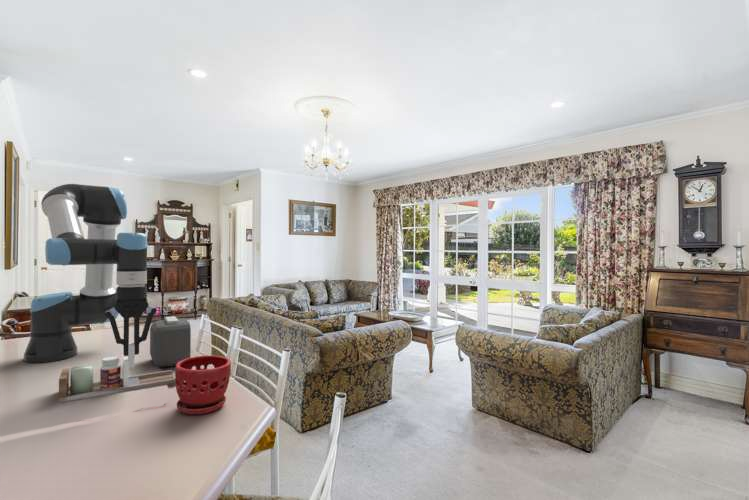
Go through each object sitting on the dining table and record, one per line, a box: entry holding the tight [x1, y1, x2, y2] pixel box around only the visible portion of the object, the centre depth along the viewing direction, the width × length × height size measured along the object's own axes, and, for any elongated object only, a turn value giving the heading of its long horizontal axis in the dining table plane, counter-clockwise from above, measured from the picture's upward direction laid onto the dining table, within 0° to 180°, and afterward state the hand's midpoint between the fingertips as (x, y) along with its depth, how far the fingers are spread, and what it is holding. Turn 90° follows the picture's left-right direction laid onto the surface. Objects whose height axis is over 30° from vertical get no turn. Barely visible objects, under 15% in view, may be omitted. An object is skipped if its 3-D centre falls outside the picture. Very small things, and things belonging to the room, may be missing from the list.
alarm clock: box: [149, 315, 192, 368], centre depth 136 cm, size 16×11×16 cm
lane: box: [58, 367, 176, 404], centre depth 110 cm, size 10×27×7 cm, turn 125°
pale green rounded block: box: [69, 364, 94, 395], centre depth 104 cm, size 5×5×7 cm
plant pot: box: [174, 355, 232, 415], centre depth 98 cm, size 13×13×12 cm
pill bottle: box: [99, 356, 122, 390], centre depth 108 cm, size 5×5×8 cm
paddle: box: [122, 356, 140, 387], centre depth 111 cm, size 7×4×7 cm, turn 35°
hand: (131, 366), depth 111 cm, fingers closed
